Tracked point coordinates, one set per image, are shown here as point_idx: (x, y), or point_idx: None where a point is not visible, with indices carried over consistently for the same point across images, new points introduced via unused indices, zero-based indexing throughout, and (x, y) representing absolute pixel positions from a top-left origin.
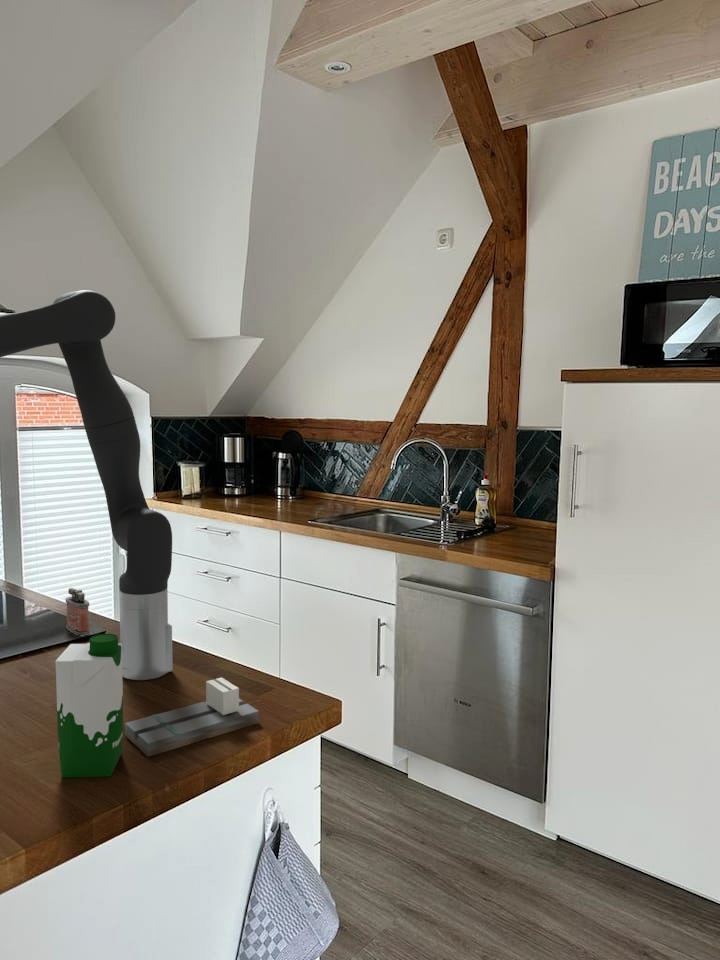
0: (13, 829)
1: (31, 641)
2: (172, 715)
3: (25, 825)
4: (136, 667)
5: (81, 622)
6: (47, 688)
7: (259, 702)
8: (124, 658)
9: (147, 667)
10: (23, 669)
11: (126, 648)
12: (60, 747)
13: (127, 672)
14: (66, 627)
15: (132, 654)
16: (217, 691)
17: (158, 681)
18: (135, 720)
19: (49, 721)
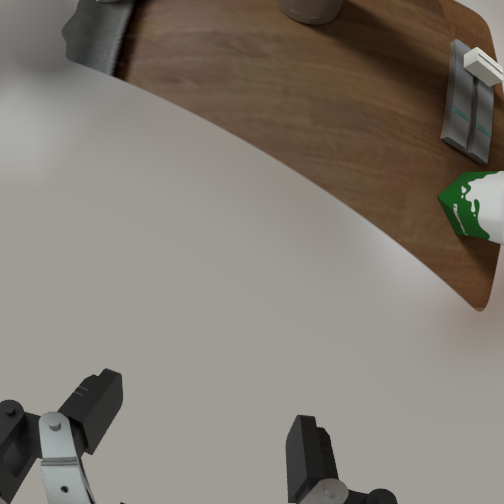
0: (471, 302)
1: (93, 40)
2: (462, 101)
3: (474, 294)
4: (329, 14)
5: None
6: (253, 90)
7: (457, 30)
8: (311, 10)
9: (338, 9)
10: (164, 78)
11: (319, 2)
12: (468, 235)
13: (314, 20)
14: (98, 1)
15: (328, 6)
16: (493, 75)
17: (346, 15)
18: (450, 126)
19: (352, 153)
